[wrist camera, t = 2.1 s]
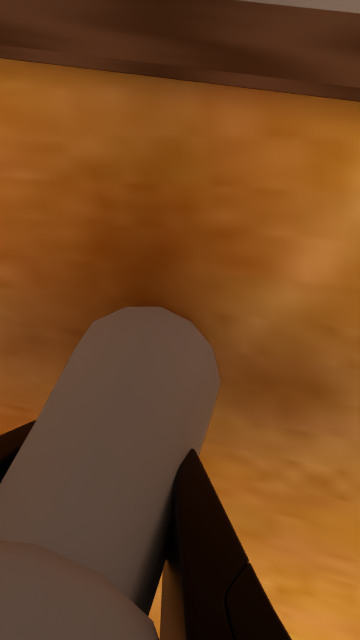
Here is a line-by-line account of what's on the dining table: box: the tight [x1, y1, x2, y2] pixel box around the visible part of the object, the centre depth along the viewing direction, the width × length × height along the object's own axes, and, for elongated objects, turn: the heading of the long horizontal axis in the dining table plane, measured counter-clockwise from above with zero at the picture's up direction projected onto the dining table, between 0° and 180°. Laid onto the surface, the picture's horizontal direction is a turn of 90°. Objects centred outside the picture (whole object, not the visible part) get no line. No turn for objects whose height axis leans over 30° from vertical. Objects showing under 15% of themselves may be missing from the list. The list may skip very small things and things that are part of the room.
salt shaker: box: [0, 306, 221, 640], centre depth 9 cm, size 6×6×13 cm
